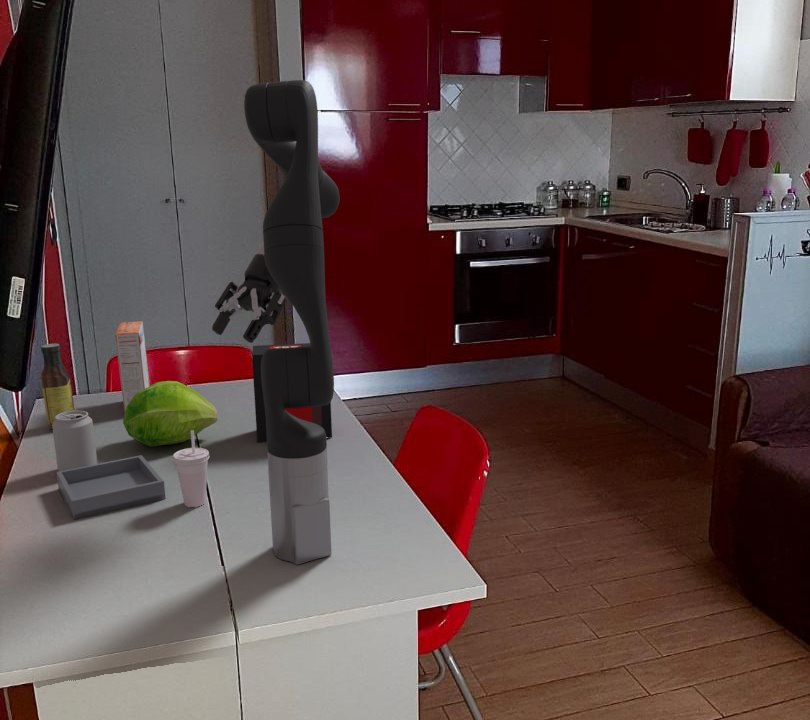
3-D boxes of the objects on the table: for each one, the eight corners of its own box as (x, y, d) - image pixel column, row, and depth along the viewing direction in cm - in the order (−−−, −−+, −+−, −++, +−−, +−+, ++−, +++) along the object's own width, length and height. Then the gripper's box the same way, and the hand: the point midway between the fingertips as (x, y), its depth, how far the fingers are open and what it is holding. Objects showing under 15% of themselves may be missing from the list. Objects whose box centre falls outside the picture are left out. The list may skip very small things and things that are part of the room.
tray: (165, 498, 150) (163, 481, 149) (74, 519, 142) (72, 501, 141) (143, 471, 163) (141, 455, 162) (58, 488, 155) (56, 471, 154)
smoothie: (208, 510, 145) (202, 436, 141) (172, 510, 145) (165, 437, 141) (216, 496, 151) (211, 424, 147) (182, 496, 151) (176, 425, 147)
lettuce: (220, 449, 175) (216, 389, 172) (122, 459, 170) (116, 397, 167) (217, 426, 189) (213, 371, 186) (127, 435, 184) (121, 378, 181)
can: (84, 478, 160) (77, 421, 157) (50, 476, 161) (42, 419, 158) (105, 464, 167) (98, 409, 164) (72, 462, 168) (65, 407, 165)
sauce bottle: (82, 425, 191) (72, 344, 187) (58, 433, 186) (48, 349, 181) (65, 421, 195) (55, 341, 190) (41, 428, 190) (30, 346, 185)
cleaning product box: (329, 425, 190) (326, 342, 185) (332, 437, 181) (328, 351, 176) (258, 429, 187) (253, 345, 182) (257, 442, 179) (251, 355, 174)
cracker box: (127, 400, 211) (119, 321, 206) (151, 398, 213) (144, 320, 207) (122, 416, 198) (113, 333, 193) (148, 414, 199) (140, 331, 194)
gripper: (235, 248, 154) (193, 319, 149) (288, 256, 146) (245, 332, 141) (258, 271, 160) (218, 340, 155) (310, 280, 152) (270, 353, 147)
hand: (231, 336), depth 148 cm, fingers open, 8 cm apart
